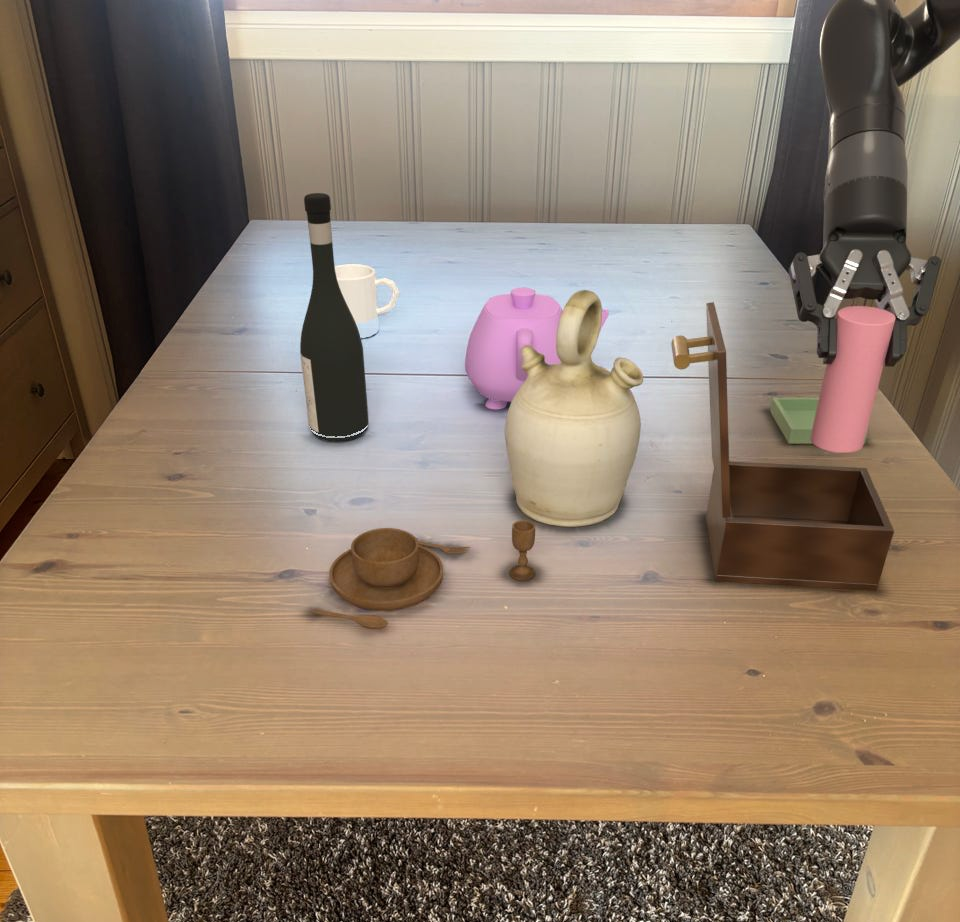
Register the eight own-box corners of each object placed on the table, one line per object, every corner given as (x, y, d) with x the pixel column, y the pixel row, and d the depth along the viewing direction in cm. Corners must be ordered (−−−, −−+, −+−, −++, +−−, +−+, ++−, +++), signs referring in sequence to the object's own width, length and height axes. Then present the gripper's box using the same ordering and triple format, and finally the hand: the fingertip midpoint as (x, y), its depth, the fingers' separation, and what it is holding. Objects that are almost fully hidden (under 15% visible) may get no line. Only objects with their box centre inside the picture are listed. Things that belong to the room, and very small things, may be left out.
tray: (842, 411, 137) (845, 397, 136) (865, 443, 129) (869, 428, 128) (769, 411, 137) (772, 397, 136) (788, 443, 129) (791, 429, 128)
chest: (851, 524, 112) (866, 467, 108) (876, 590, 102) (894, 530, 97) (705, 516, 114) (714, 460, 109) (715, 581, 103) (725, 521, 99)
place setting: (374, 532, 111) (371, 486, 107) (540, 567, 105) (542, 519, 102) (297, 615, 98) (290, 566, 94) (481, 660, 92) (481, 610, 89)
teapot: (611, 428, 133) (620, 318, 124) (464, 428, 133) (463, 319, 124) (596, 372, 148) (603, 271, 139) (465, 372, 148) (464, 271, 139)
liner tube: (871, 440, 99) (904, 313, 92) (849, 458, 96) (881, 328, 88) (824, 426, 102) (852, 301, 94) (801, 442, 99) (828, 315, 91)
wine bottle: (302, 442, 129) (272, 202, 111) (319, 417, 136) (294, 186, 117) (361, 447, 128) (340, 204, 110) (375, 421, 135) (358, 188, 116)
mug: (396, 342, 159) (393, 281, 153) (325, 338, 160) (319, 277, 154) (406, 325, 165) (403, 265, 159) (337, 322, 166) (332, 262, 160)
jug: (658, 502, 116) (685, 291, 101) (573, 550, 108) (588, 327, 93) (563, 460, 125) (574, 260, 110) (477, 501, 117) (476, 290, 101)
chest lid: (714, 301, 99) (668, 308, 100) (726, 350, 88) (674, 357, 89) (719, 456, 109) (677, 460, 110) (730, 517, 98) (684, 521, 99)
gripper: (799, 171, 91) (793, 342, 89) (957, 174, 90) (955, 347, 88) (781, 216, 99) (775, 375, 97) (927, 219, 98) (924, 381, 95)
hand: (861, 361), depth 92 cm, fingers closed on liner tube, 5 cm apart
